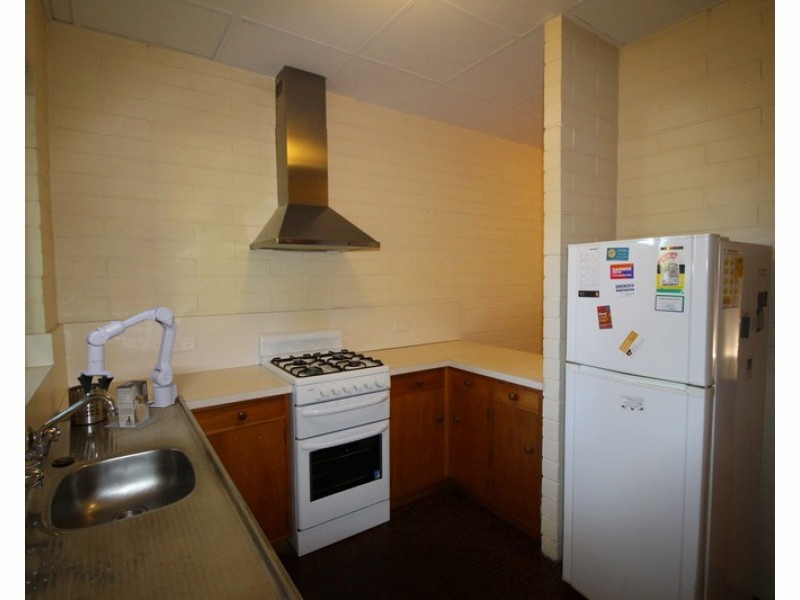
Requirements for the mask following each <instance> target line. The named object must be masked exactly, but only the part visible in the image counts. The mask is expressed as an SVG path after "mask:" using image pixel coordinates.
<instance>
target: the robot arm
mask: <svg viewBox="0 0 800 600" xmlns="http://www.w3.org/2000/svg"><path fill="white" fill-rule="evenodd" d="M144 321H154V322H155V323H158V324H159V325H160V326H161V327H162V334H161V340H160V341H161V342H160V346H159V351H158V357H157V361H156V364H155V365H154V367H153V370H152V372H151V373H150V375H149V378H150V380H151V381H152V382H153V384H152V390H153V391H152V392H153V394H152V395H153V404H151V405H149V408H167V407H169V406H172V405H173V404H176V403H175V402H174V401H175V398H176V397H177V396H179V395H178V386H177V384H176V383H175V382H173V380H174V375H173V368H172V365H171V363H172V357H173V354H174V352H173V351H174V346H175V342H176V335H177V330H178V323H177V321H176V319H175V315H174V312H173V311H172V310H171V309H170V308H168V307H167V306H163V307H162V306H158V305H157V306H152V307H150V308H146V309H143V311H139V313H137V314H134V315H132V316H131V317H127V318H126V319H124V320H122V321H119V320H115V321H114V320H111V321H109V323H108V324H105V325H104V326H98V327H97V328H96V330H94V329H93V330H89V332H87V334H86V335H85V337H84V341H85V343H86V345H87V346H86V347H87V348H86V369H80V370H77V375H78V377H77V381H78V382H79V384H80V386H81V389H82V390H83V394H84V395H87V394H90V393H91V392H90V391H92V383H93V378H94V377H98V378H97V379H96V380H97V382H98V384H99V390H100V389H106V391H107V392H108V390H109V388H110V385H111V383H112V381H113V380H114V378H115V377H114V372H113V371H108V370H105V343H106V342H107V341H110V340H111V339H114V338H116V337H118V336H120V335H122V334H124V333H125V332H126V329H128V328H130V327H132V326H134V325H137V324H139V323H142V322H144ZM89 392H90V393H89Z"/></svg>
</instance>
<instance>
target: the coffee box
mask: <svg viewBox="0 0 800 600" xmlns="http://www.w3.org/2000/svg"><path fill="white" fill-rule="evenodd" d="M116 400H117V402H116V403H117V410H118V420H119V424H120V428H119V429H122V428H121V427H136V426H138V425H140V424H141V423H143V422H145V421H146V420H148V419H151V416H150V407H149V406H150V405H149V394H148V382H147V380H146V379H145V380H143V379H142V380H130V381H128V382H126V383H123V384H121V385H118V386H116Z"/></svg>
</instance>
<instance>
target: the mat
mask: <svg viewBox="0 0 800 600" xmlns="http://www.w3.org/2000/svg"><path fill="white" fill-rule="evenodd" d="M157 421H159V419H151V418H150V419H148V420H146V421H145V422H143V423H141V424H140V425H138V426H136V427H121V428H120V424H119V419H117V420H116V421H113V422H112V423H109V424H107V425H105V426H104V428H112V429H113V428H116V429H133V430H141V429H144V428H146V427H148V426H149V425H151V424H153V423H156V422H157Z"/></svg>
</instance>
